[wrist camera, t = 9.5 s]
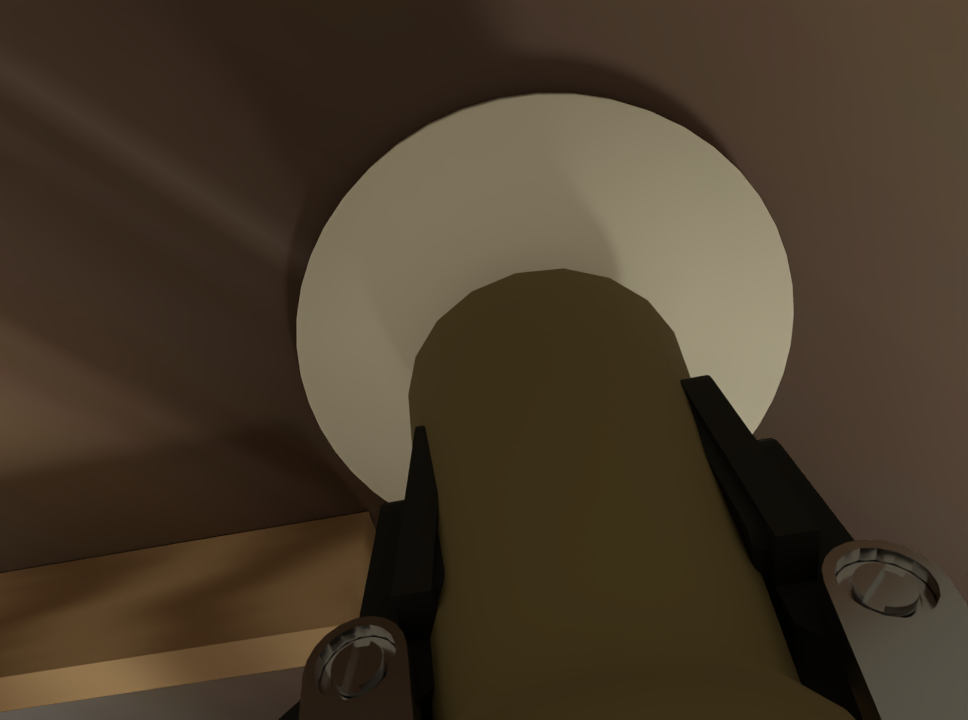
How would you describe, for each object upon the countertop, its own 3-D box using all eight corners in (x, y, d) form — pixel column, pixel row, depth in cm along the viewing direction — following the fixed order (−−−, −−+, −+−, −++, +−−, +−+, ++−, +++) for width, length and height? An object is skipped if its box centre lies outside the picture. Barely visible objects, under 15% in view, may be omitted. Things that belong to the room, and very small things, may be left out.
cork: (730, 434, 14) (1331, 1341, 4) (502, 546, 15) (557, 1423, 6) (606, 209, 12) (1316, 1078, 2) (351, 365, 13) (-13, 1332, 3)
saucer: (784, 36, 13) (802, 36, 12) (774, 490, 18) (787, 508, 17) (230, 155, 14) (217, 161, 13) (377, 554, 19) (373, 574, 18)
